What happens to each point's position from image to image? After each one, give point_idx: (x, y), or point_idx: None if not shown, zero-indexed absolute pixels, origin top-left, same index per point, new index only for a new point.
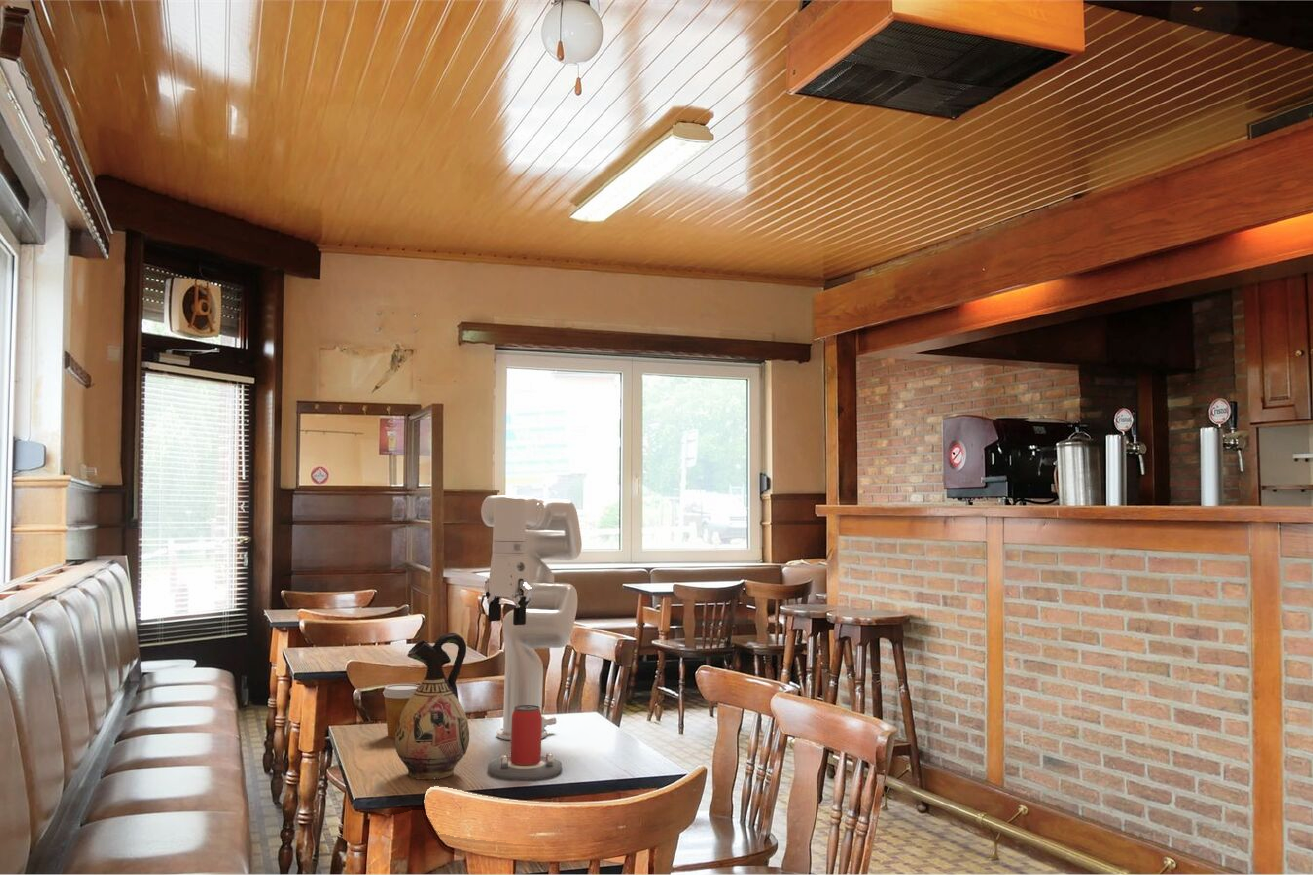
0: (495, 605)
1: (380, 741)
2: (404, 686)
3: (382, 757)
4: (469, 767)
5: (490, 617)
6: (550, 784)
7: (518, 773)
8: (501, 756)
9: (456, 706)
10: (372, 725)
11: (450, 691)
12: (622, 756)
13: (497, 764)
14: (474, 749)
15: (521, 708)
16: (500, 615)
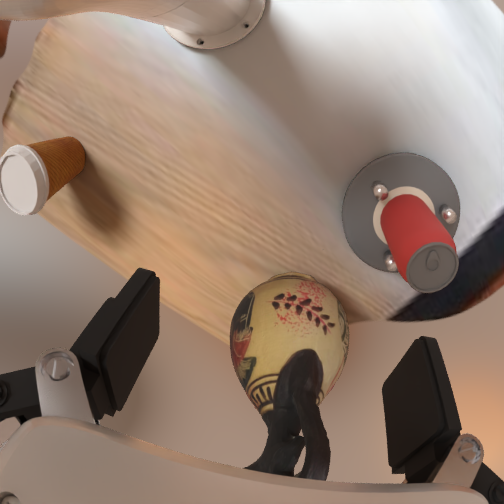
0: (115, 387)
1: (83, 200)
2: (6, 168)
3: (164, 265)
4: (311, 242)
5: (150, 349)
6: (464, 252)
7: None
8: (389, 269)
9: (335, 374)
10: (9, 144)
11: (319, 396)
12: (478, 41)
13: (367, 244)
14: (224, 141)
15: (421, 272)
16: (144, 296)
